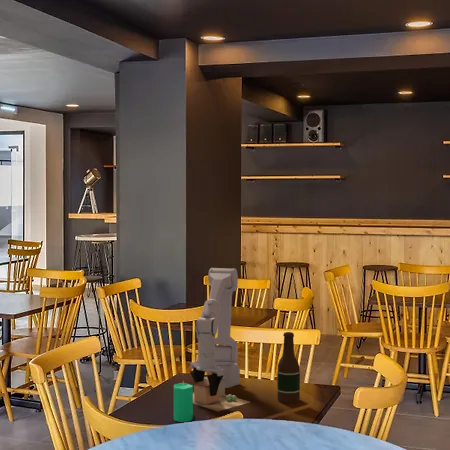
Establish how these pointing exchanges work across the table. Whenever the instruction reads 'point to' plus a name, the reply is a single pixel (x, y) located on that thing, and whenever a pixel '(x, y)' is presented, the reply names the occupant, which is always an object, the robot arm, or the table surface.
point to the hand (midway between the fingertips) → (206, 393)
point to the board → (222, 403)
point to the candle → (183, 402)
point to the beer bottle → (288, 373)
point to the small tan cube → (204, 392)
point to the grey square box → (220, 386)
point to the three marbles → (231, 397)
